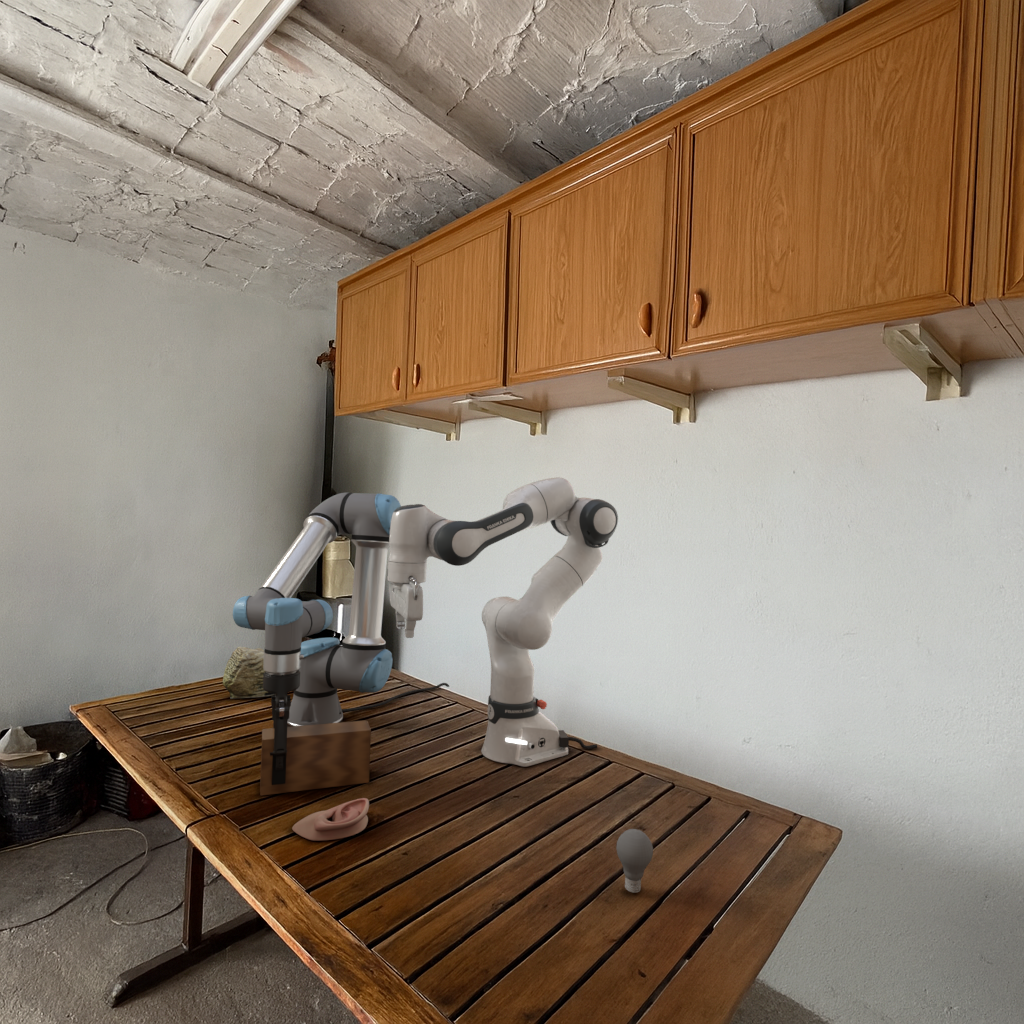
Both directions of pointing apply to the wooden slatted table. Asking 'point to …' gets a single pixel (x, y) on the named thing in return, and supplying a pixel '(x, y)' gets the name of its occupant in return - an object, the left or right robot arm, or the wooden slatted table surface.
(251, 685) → the fossil
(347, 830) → the anatomical model
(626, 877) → the light bulb
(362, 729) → the box
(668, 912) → the wooden slatted table surface
